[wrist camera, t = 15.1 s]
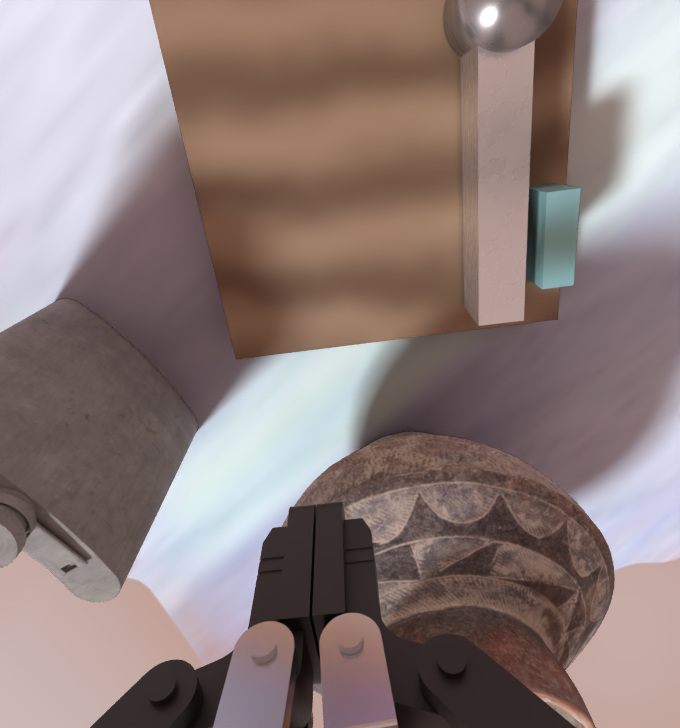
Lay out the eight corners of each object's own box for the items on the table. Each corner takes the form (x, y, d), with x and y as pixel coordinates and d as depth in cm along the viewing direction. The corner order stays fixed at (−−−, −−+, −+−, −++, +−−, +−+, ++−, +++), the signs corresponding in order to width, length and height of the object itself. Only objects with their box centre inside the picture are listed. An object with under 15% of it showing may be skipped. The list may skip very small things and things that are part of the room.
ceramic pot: (336, 327, 40) (338, 544, 18) (588, 421, 44) (833, 689, 22) (247, 539, 50) (179, 846, 28) (461, 600, 54) (546, 910, 32)
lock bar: (441, -32, 28) (463, -69, 23) (529, -46, 27) (570, -85, 23) (450, 308, 36) (468, 334, 31) (518, 300, 36) (546, 324, 31)
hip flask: (42, 313, 39) (-210, 459, 21) (75, 284, 38) (-158, 411, 20) (180, 444, 45) (74, 650, 27) (212, 421, 44) (125, 619, 26)
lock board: (164, 8, 31) (117, -29, 24) (559, -55, 30) (623, -111, 23) (242, 344, 41) (224, 384, 34) (542, 307, 40) (584, 340, 33)
